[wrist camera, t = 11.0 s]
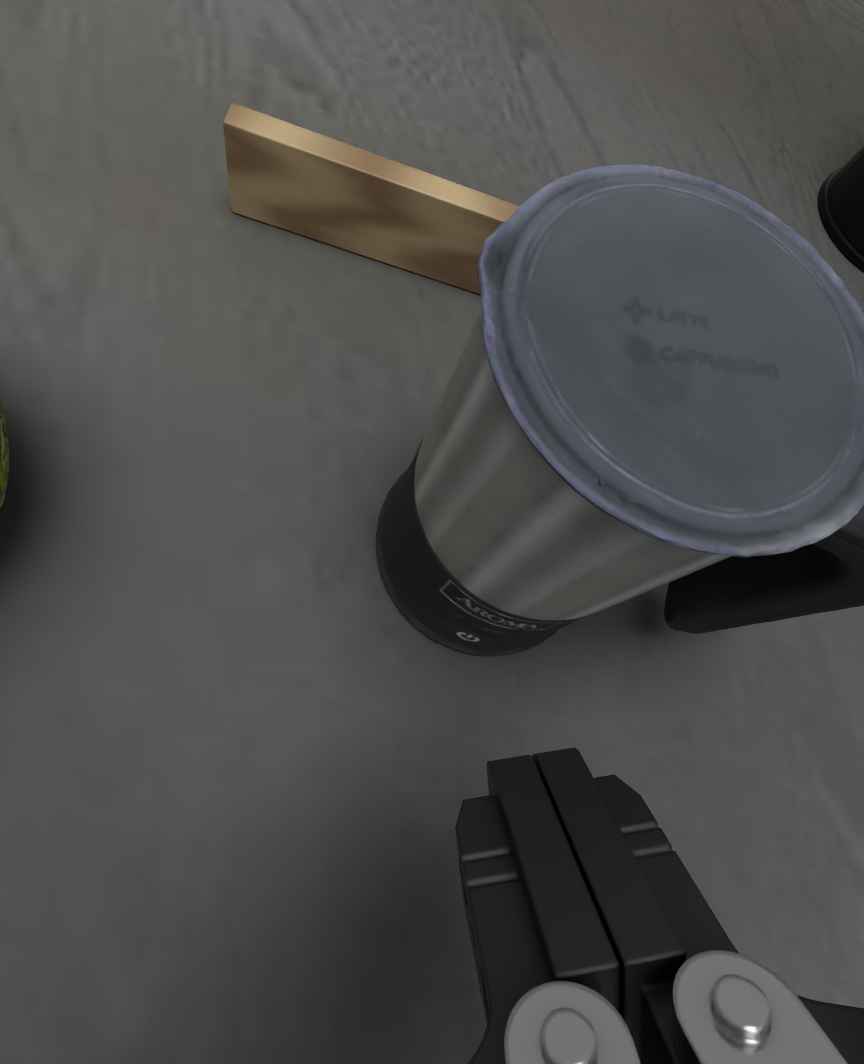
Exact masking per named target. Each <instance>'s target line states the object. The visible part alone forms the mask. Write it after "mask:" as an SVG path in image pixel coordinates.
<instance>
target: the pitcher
mask: <svg viewBox="0 0 864 1064" xmlns="http://www.w3.org/2000/svg"><path fill="white" fill-rule="evenodd" d="M8 476H9V443H8V435H7V429H6V424H5V419H4V414H3V410H2V407H1V404H0V509H1V506H2V503H3V500H4V497H5V493H6V490H7V483H8Z"/></svg>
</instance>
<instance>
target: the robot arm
mask: <svg viewBox="0 0 864 1064" xmlns="http://www.w3.org/2000/svg"><path fill="white" fill-rule="evenodd" d="M487 775H488V787H489V796H484V797H478V798H472V799H466V800H463V802H462V806H461V809H460V813H459V816H458V820H457V823H456V827H455V829H456V838H457V847H458V856H459V865H460V874H461V883H462V892H463V900H464V905H465V911H466V916H467V921H468V927H469V931H470V937H471V942H472V948H473V953H474V958H475V963H476V969H477V974H478V980H479V985H480V990H481V995H482V1001H483V1006H484V1011H485V1017H486V1022H487V1027H486V1030H485V1034H484V1037H483V1039H482V1041H481V1043H480V1045H479V1048H478V1050H477V1051H476V1053H475V1054H474V1056H473V1057H472V1059H471V1060H470V1061H469V1062H468V1063H467V1064H864V1009H863V1008H857V1007H851V1006H844V1005H838V1004H831V1003H825V1002H820V1001H815V1000H811V999H807V998H804V997H801V996H798V995H796V994H795V993H794V992H793V990H792V989H791V988H790V987H789V986H788V984H787V983H785V982H784V981H783V980H782V979H781V978H780V977H779V976H778V975H777V974H776V973H774V972H773V971H772V970H770V969H769V968H768V967H766V966H764V965H763V964H761V963H759V962H758V961H756V960H754V959H751V958H749V957H747V956H745V955H741V954H739V953H738V951H737V950H736V948H735V947H734V945H733V944H732V943H731V941H730V939H729V938H728V936H727V935H726V933H725V931H724V930H723V928H722V927H721V925H720V923H719V922H718V920H717V918H716V917H715V915H714V914H713V912H712V910H711V909H710V907H709V905H708V904H707V902H706V901H705V899H704V897H703V896H702V894H701V893H700V891H699V889H698V888H697V886H696V884H695V883H694V881H693V880H692V878H691V876H690V875H689V873H688V871H687V870H686V868H685V867H684V865H683V863H682V862H681V860H680V858H679V857H678V855H677V854H676V852H675V851H673V850H672V847H671V844H670V842H669V841H668V839H667V837H666V836H665V834H664V833H663V831H662V829H661V828H659V827H658V825H657V821H656V820H655V818H654V816H653V815H652V813H651V812H650V810H649V808H648V807H647V805H646V803H645V802H644V800H643V799H642V797H641V795H639V794H638V793H637V792H636V791H634V790H633V789H632V788H631V787H629V786H628V785H627V784H625V783H624V782H623V781H622V780H620V779H619V778H618V777H617V776H615V775H609V776H603V777H597V778H593V777H592V775H591V773H590V771H589V769H588V767H587V765H586V763H585V762H584V760H583V758H582V756H581V754H580V752H579V751H578V750H577V749H576V748H569V749H563V750H557V751H550V752H544V753H538V754H533V755H532V756H531V755H525V756H519V757H513V758H507V759H501V760H495V761H489V762H487Z"/></svg>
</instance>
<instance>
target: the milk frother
mask: <svg viewBox="0 0 864 1064" xmlns="http://www.w3.org/2000/svg"><path fill="white" fill-rule="evenodd" d="M478 279H479V283H480V287H481V308H482V309H481V312H480V314H479V316H478V318H477V320H476V323H475V325H474V327H473V329H472V332H471V334H470V336H469V338H468V340H467V343H466V345H465V347H464V349H463V351H462V354H461V356H460V358H459V360H458V363H457V365H456V367H455V369H454V371H453V373H452V376H451V378H450V380H449V382H448V384H447V387H446V389H445V391H444V393H443V395H442V398H441V400H440V402H439V404H438V406H437V408H436V411H435V413H434V415H433V417H432V420H431V422H430V424H429V426H428V429H427V431H426V433H425V435H424V437H423V439H422V441H421V443H420V446H419V448H418V450H417V453H416V455H415V457H414V459H413V461H412V463H411V464H410V466H409V468H408V470H407V471H406V472H405V473H403V474H402V475H401V476H400V478H399V479H398V480H397V481H396V483H395V484H394V485H393V487H392V488H391V489H390V491H389V493H388V495H387V498H386V500H385V501H384V504H383V507H382V509H381V512H380V516H379V522H378V525H377V533H376V541H377V548H376V552H377V556H378V564H379V567H380V570H381V575H382V578H383V580H384V583H385V585H386V587H387V590H388V592H389V594H390V596H391V597H392V599H393V601H394V603H395V604H396V605H397V606H398V608H399V609H400V610H401V612H402V613H403V614H404V616H405V617H406V618H407V619H408V620H409V621H410V622H411V623H412V624H414V625H415V626H416V627H417V628H418V629H419V630H420V631H421V632H423V633H424V634H425V635H427V636H428V637H430V638H431V639H433V640H435V641H436V642H438V643H440V644H442V645H444V646H447V647H449V648H452V649H454V650H457V651H460V652H464V653H468V654H473V655H478V656H499V655H510V654H514V653H518V652H521V651H525V650H527V649H530V648H532V647H534V646H536V645H538V644H540V643H542V642H543V641H545V640H546V639H548V638H549V637H551V636H552V635H553V634H555V632H556V631H557V630H558V629H559V628H561V627H563V626H565V625H567V624H569V623H571V622H573V621H575V620H578V619H580V618H583V617H585V616H588V615H591V614H593V613H596V612H599V611H601V610H604V609H606V608H609V607H611V606H614V605H616V604H618V603H621V602H623V601H626V600H628V599H630V598H633V597H635V596H638V595H640V594H642V593H645V592H647V591H650V590H652V589H654V588H657V587H659V586H662V585H664V584H666V583H669V586H668V591H667V595H666V600H665V608H664V616H665V620H666V622H667V624H668V625H669V627H670V628H672V629H674V630H676V631H684V632H688V633H705V632H710V631H717V630H722V629H728V628H735V627H740V626H746V625H752V624H757V623H764V622H772V621H777V620H782V619H787V618H793V617H799V616H804V615H810V614H815V613H821V612H828V611H835V610H841V609H846V608H851V607H858V606H864V312H863V310H862V309H861V308H860V306H859V305H858V304H857V303H856V301H855V300H854V298H853V296H852V295H851V294H850V293H849V291H848V290H847V289H846V287H845V284H844V282H843V281H842V280H841V279H840V278H839V277H838V276H837V274H836V273H835V272H834V270H833V269H832V268H831V267H830V265H829V264H828V263H827V262H826V261H825V260H824V259H823V258H822V257H821V256H820V255H819V254H818V253H817V251H816V250H815V248H814V247H813V246H812V245H811V244H810V243H809V242H808V241H807V240H805V239H804V238H803V237H802V236H801V235H799V234H798V233H796V232H795V231H794V230H793V229H792V228H791V227H789V226H788V225H786V224H785V223H784V222H782V221H781V220H780V219H779V218H778V217H777V216H775V215H774V214H772V213H770V212H769V211H767V210H766V209H765V208H764V207H762V206H761V205H759V204H757V203H755V202H753V201H751V200H750V199H748V198H746V197H745V196H743V195H742V194H739V193H738V192H736V191H734V190H728V189H726V188H725V187H724V186H722V185H719V184H717V183H714V182H712V181H709V180H706V179H704V178H700V177H696V176H693V175H689V174H686V173H683V172H680V171H677V170H670V169H665V168H662V167H659V166H647V165H644V164H642V165H609V166H602V167H595V168H590V169H586V170H581V171H578V172H575V173H572V174H569V175H566V176H564V177H561V178H559V179H557V180H555V181H553V182H552V183H550V184H548V185H546V186H544V187H542V188H541V189H540V190H539V191H538V192H536V193H535V194H533V195H532V196H530V197H529V198H528V199H527V200H526V201H525V202H523V203H522V204H521V205H520V206H519V207H518V209H517V210H516V211H515V212H514V213H513V214H512V216H511V217H510V218H509V219H508V220H507V221H505V222H504V223H502V224H501V225H500V226H499V227H498V228H497V229H496V230H495V231H494V233H493V234H492V235H491V236H490V237H488V238H487V239H486V240H485V243H484V245H483V248H482V251H481V253H480V257H479V261H478Z"/></svg>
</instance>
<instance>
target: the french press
mask: <svg viewBox="0 0 864 1064" xmlns="http://www.w3.org/2000/svg"><path fill="white" fill-rule="evenodd" d="M819 208H820V214H821V217H822V220H823V222H824V225H825V227H826V229H827V231H828V233H829V234H830V236H831V238H832V239H833V241H834V242H835V243H836V245H837V246H838V247H839V249H840V250H841V251H842V252H843V253H844V254H845V255H846V256H847V257H848V258H849V259H850V260H851V261H852V262H853V263H854V264H856V265H857V266H858V267H859V268H860V269H862V270H863V271H864V147H863V148H862V149H861V150H860V151H859V152H858V153H857V154H856V155H855V156H854V157H853V158H852V159H851V160H850V161H849V162H848V163H847V164H846V165H845V166H844V167H843V168H840V169H838V170H837V171H835V172H834V173H832V174H831V175H830V176H829V177H828V178H827V180H826V181H825V182H824V183H823V185H822V188H821V190H820V193H819Z"/></svg>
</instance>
